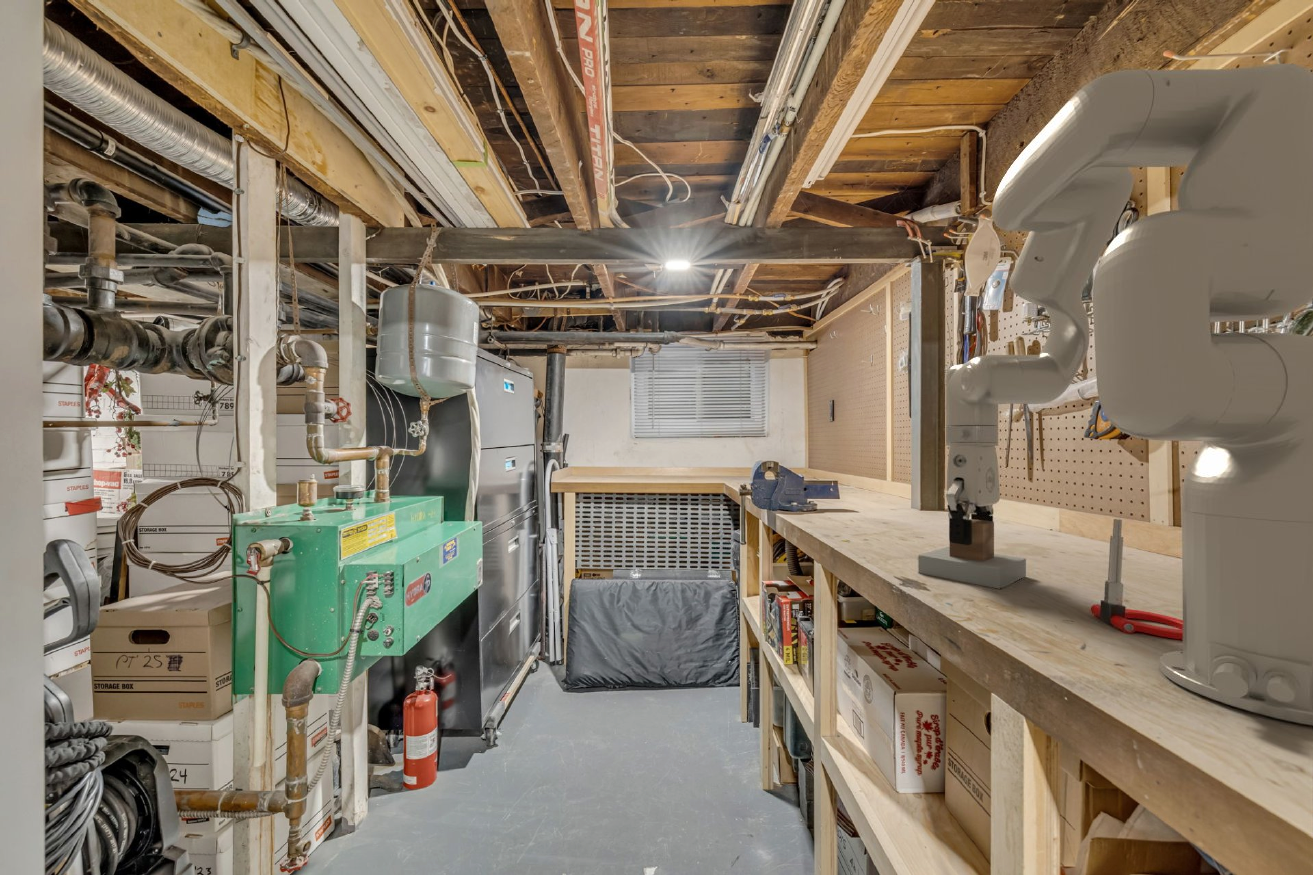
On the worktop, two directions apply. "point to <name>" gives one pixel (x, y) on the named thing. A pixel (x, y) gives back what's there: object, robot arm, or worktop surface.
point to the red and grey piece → (1112, 602)
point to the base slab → (973, 568)
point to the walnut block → (977, 543)
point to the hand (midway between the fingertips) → (971, 540)
